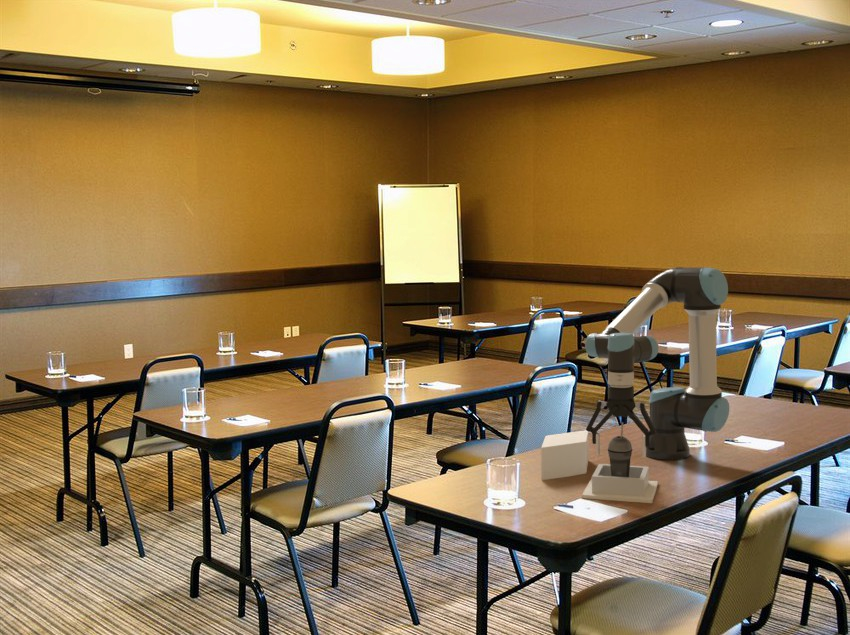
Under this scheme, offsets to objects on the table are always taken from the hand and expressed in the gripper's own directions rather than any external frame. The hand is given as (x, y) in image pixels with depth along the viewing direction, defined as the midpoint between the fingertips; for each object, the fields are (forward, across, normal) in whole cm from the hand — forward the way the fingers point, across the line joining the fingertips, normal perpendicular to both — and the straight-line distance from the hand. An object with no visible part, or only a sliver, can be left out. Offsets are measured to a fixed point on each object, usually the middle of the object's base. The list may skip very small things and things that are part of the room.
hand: (620, 456), depth 279 cm
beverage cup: (+10, 0, 0) cm, 10 cm away
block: (+11, -20, +20) cm, 30 cm away
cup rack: (+11, 0, 0) cm, 11 cm away
